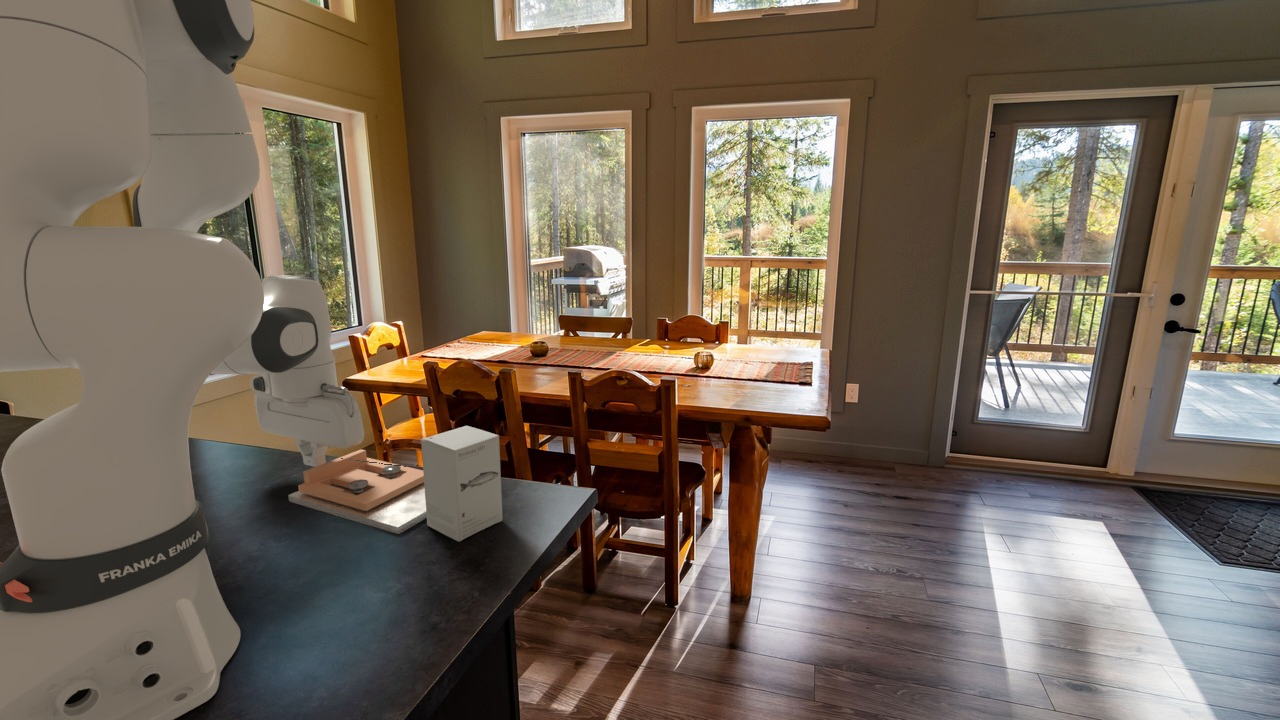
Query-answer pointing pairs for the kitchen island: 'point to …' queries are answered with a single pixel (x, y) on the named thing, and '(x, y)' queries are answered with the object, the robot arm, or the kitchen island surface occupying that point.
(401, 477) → the panel
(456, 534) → the supplement box
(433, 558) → the kitchen island surface
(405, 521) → the boss plate
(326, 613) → the kitchen island surface
